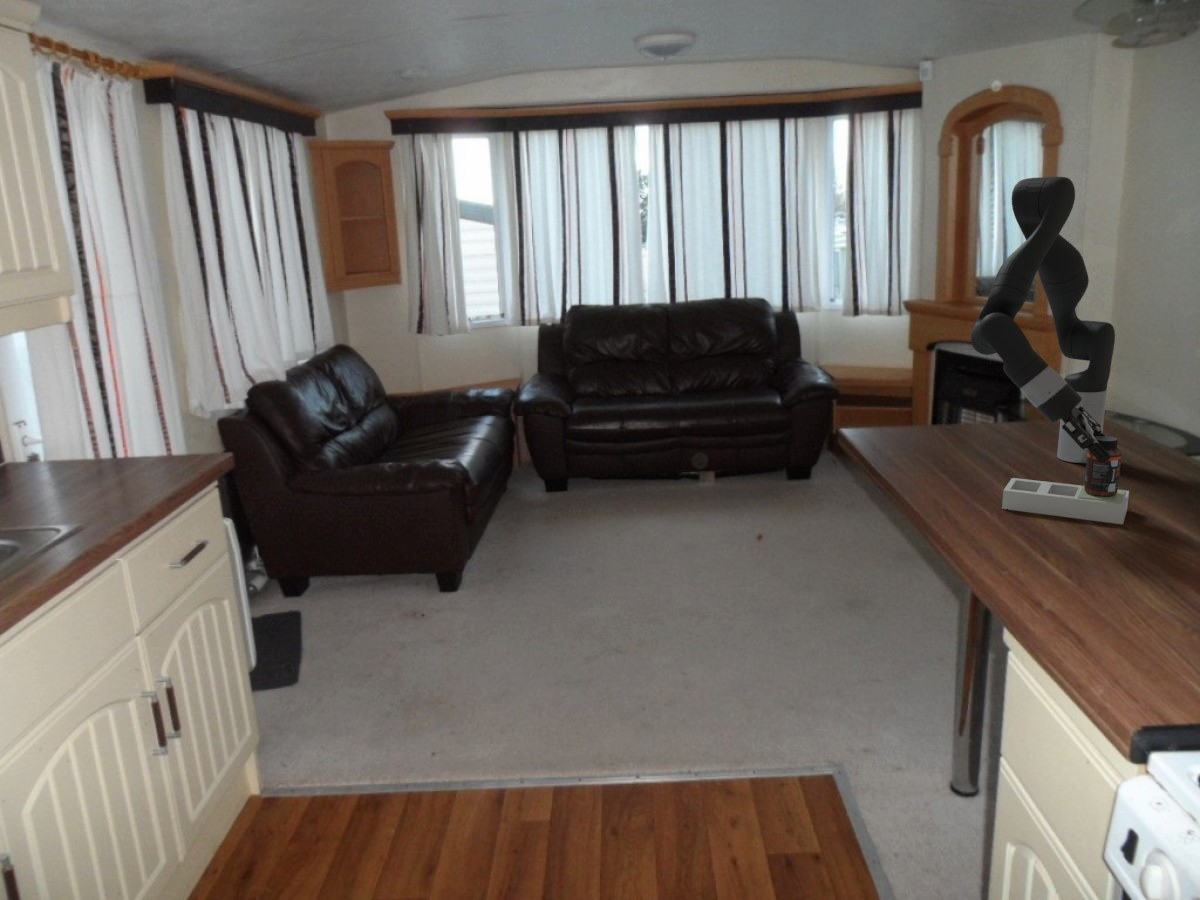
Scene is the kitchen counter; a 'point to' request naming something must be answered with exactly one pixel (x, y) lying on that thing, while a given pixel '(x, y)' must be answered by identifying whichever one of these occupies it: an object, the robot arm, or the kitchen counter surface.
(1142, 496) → the kitchen counter surface
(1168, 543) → the kitchen counter surface
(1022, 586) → the kitchen counter surface
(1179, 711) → the kitchen counter surface
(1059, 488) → the board
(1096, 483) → the supplement bottle
